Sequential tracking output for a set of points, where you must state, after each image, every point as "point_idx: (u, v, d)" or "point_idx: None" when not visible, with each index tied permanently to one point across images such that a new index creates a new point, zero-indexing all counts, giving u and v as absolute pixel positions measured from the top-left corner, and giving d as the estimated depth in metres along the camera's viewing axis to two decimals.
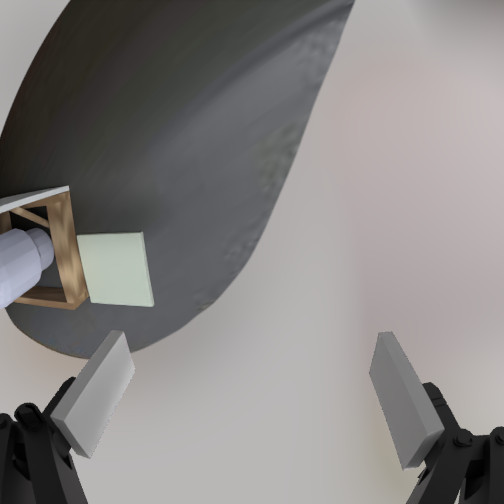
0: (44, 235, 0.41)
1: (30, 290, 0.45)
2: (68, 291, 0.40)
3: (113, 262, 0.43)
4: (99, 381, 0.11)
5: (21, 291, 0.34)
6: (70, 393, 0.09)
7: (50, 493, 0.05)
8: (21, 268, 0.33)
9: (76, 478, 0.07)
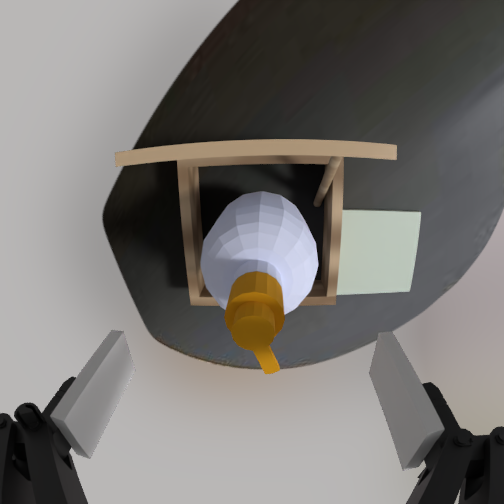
0: None
1: None
2: (336, 280, 0.35)
3: (383, 243, 0.38)
4: (99, 381, 0.11)
5: None
6: (70, 393, 0.09)
7: (50, 493, 0.05)
8: None
9: (76, 478, 0.07)
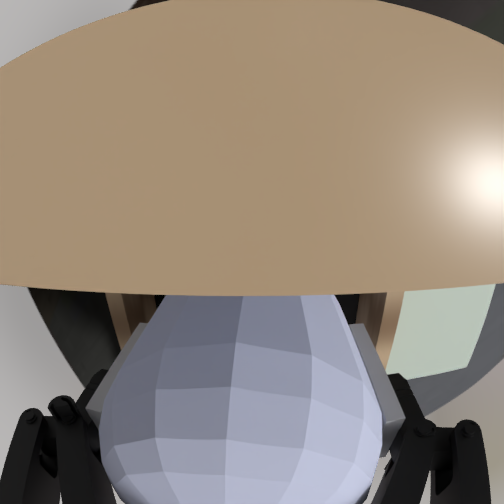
0: None
1: None
2: None
3: (447, 311, 0.21)
4: None
5: None
6: (104, 384, 0.10)
7: (78, 489, 0.05)
8: None
9: (106, 473, 0.08)
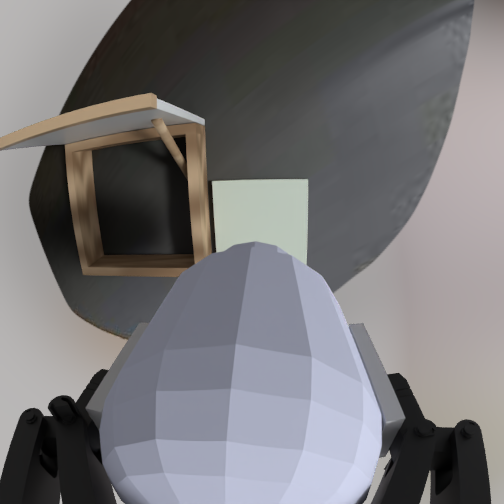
0: None
1: (117, 259, 0.40)
2: (202, 251, 0.36)
3: (264, 215, 0.38)
4: None
5: None
6: (105, 384, 0.10)
7: (78, 489, 0.05)
8: None
9: (106, 473, 0.08)
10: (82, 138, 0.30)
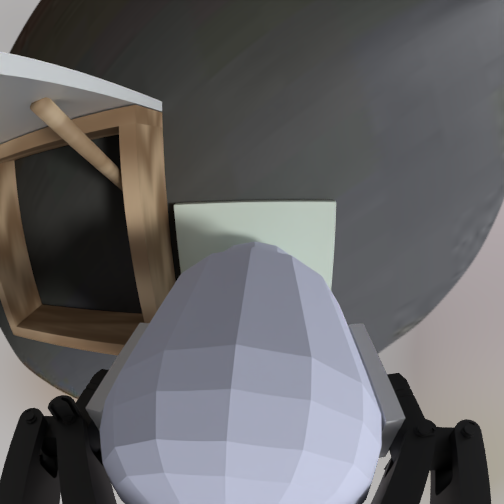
0: None
1: (53, 315, 0.25)
2: None
3: None
4: None
5: None
6: (105, 384, 0.10)
7: (78, 489, 0.05)
8: None
9: (106, 473, 0.08)
10: None
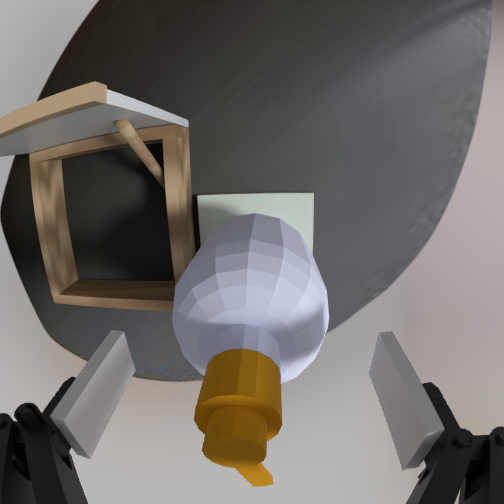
0: None
1: (91, 285, 0.33)
2: None
3: None
4: (99, 381, 0.11)
5: None
6: (70, 393, 0.09)
7: (50, 493, 0.05)
8: None
9: (76, 478, 0.07)
10: (45, 146, 0.23)
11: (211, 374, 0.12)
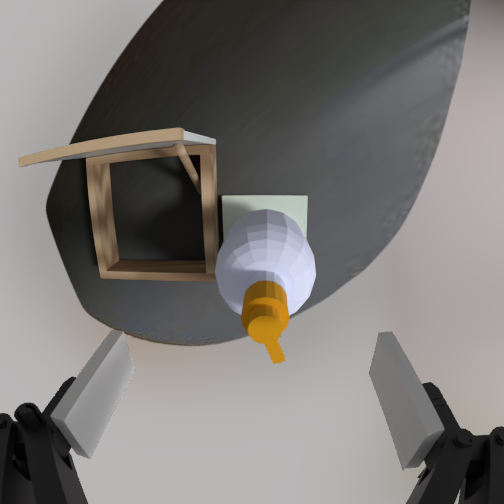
0: None
1: (133, 264, 0.44)
2: (213, 258, 0.40)
3: None
4: (99, 381, 0.11)
5: None
6: (70, 393, 0.09)
7: (50, 493, 0.05)
8: None
9: (76, 478, 0.07)
10: None
11: (250, 292, 0.23)
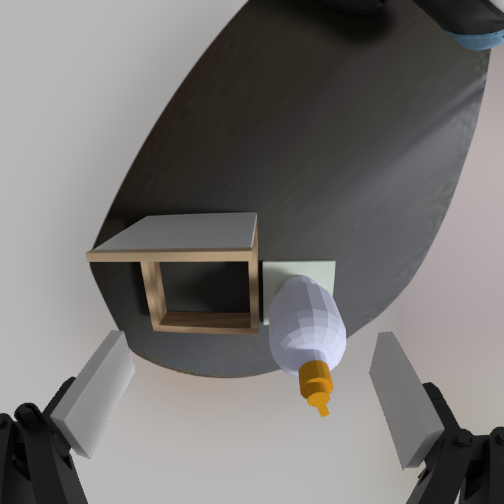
0: None
1: (182, 317, 0.52)
2: (257, 317, 0.47)
3: None
4: (99, 381, 0.11)
5: None
6: (70, 393, 0.09)
7: (50, 493, 0.05)
8: None
9: (76, 478, 0.07)
10: None
11: (305, 371, 0.30)
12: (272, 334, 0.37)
